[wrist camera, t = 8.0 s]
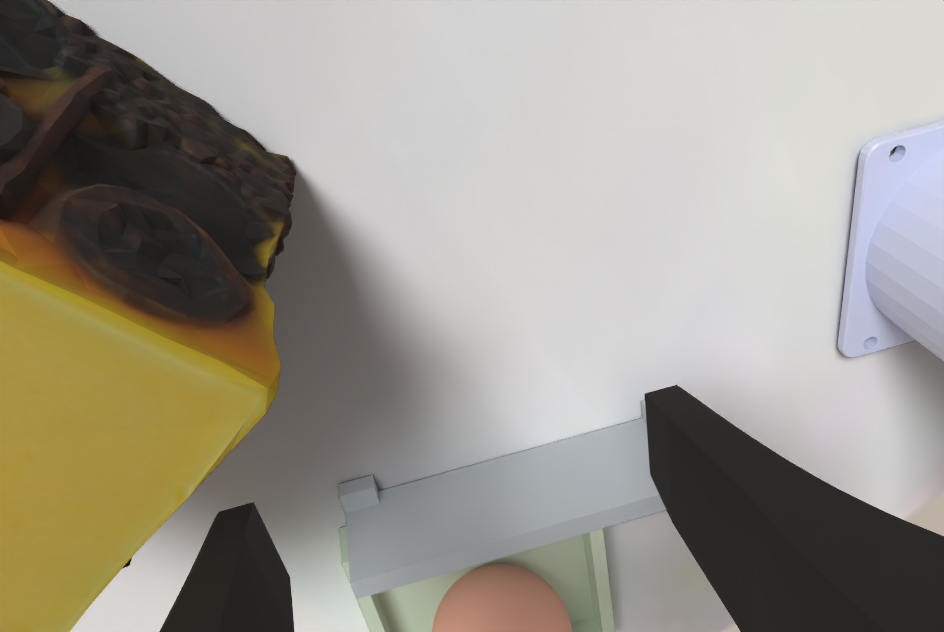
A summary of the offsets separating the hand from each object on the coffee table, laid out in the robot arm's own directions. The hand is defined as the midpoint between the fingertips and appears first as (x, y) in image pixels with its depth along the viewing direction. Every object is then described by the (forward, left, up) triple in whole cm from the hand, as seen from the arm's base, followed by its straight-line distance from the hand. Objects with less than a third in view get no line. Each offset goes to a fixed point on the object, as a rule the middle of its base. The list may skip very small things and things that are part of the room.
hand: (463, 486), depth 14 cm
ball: (0, +14, -6) cm, 16 cm away
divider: (-2, +9, -9) cm, 13 cm away
